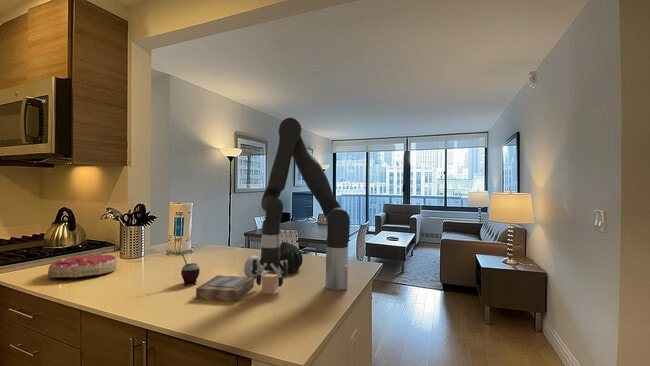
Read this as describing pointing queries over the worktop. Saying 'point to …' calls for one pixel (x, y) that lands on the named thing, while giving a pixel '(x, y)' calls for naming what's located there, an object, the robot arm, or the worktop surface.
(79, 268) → the cake
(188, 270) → the mate gourd
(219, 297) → the walnut base
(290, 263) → the squash
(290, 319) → the worktop surface
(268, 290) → the terracotta block
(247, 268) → the donut
